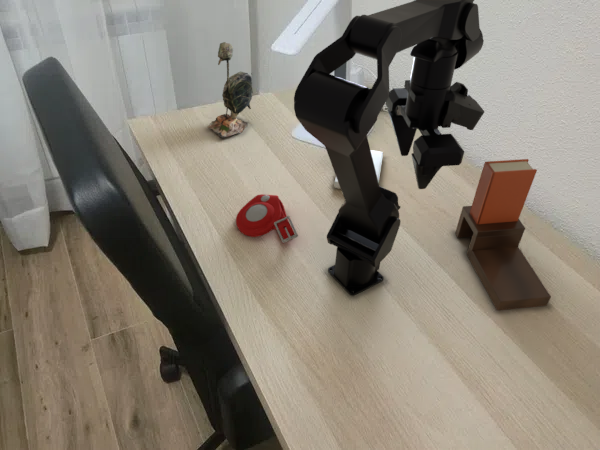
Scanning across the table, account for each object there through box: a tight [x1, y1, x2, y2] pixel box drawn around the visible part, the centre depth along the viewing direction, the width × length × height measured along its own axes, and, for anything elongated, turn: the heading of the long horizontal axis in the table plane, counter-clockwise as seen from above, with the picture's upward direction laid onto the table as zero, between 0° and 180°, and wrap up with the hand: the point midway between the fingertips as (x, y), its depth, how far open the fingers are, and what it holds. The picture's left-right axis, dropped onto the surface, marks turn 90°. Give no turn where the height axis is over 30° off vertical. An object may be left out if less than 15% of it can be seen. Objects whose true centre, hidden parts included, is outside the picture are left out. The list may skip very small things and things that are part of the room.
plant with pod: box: [206, 41, 254, 138], centre depth 113 cm, size 8×11×20 cm
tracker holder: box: [235, 194, 299, 244], centre depth 94 cm, size 12×4×10 cm
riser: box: [454, 205, 552, 311], centre depth 87 cm, size 8×18×6 cm, turn 9°
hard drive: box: [333, 149, 384, 190], centre depth 108 cm, size 2×8×12 cm
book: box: [470, 158, 538, 224], centre depth 86 cm, size 7×3×10 cm, turn 99°
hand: (412, 171), depth 88 cm, fingers open, 9 cm apart
